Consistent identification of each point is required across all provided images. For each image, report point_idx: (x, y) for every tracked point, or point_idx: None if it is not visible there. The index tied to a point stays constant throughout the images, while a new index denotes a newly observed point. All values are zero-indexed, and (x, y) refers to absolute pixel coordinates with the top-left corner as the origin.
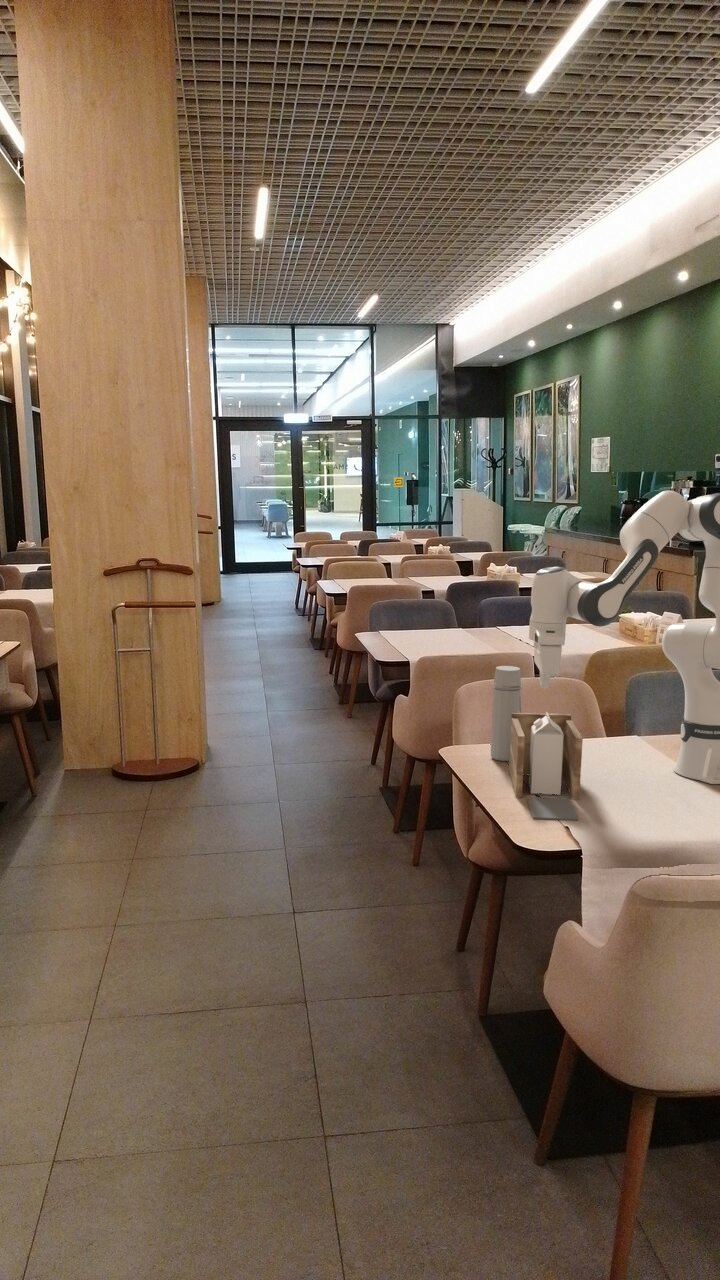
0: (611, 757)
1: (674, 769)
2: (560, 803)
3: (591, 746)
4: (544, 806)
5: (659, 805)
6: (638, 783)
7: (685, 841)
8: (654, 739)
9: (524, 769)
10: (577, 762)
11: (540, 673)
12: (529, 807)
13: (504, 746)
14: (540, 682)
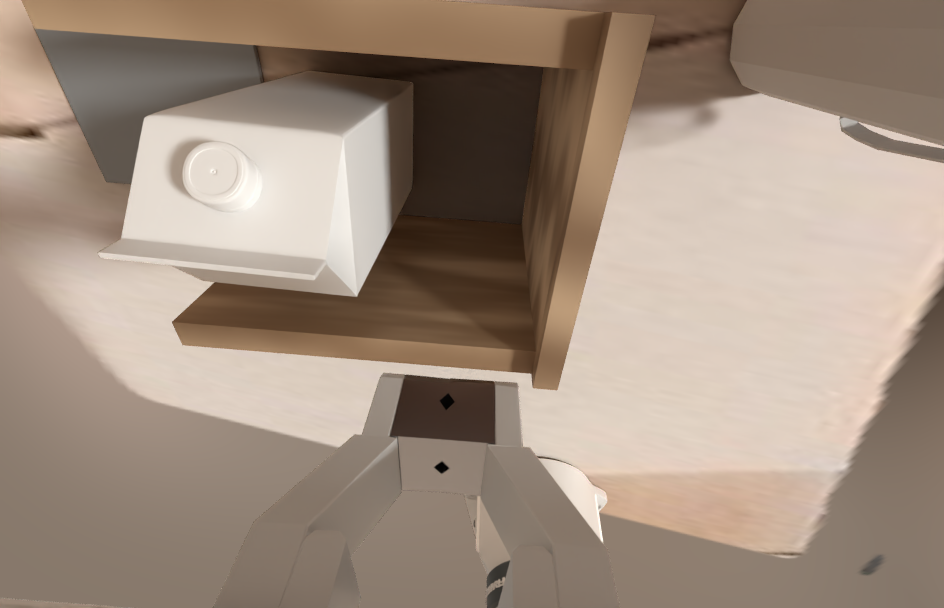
0: (682, 383)
1: (547, 461)
2: None
3: (805, 365)
4: (170, 95)
5: (311, 379)
6: None
7: (105, 362)
8: (798, 488)
9: (542, 90)
10: None
11: (543, 533)
12: None
13: (772, 17)
14: (488, 414)
